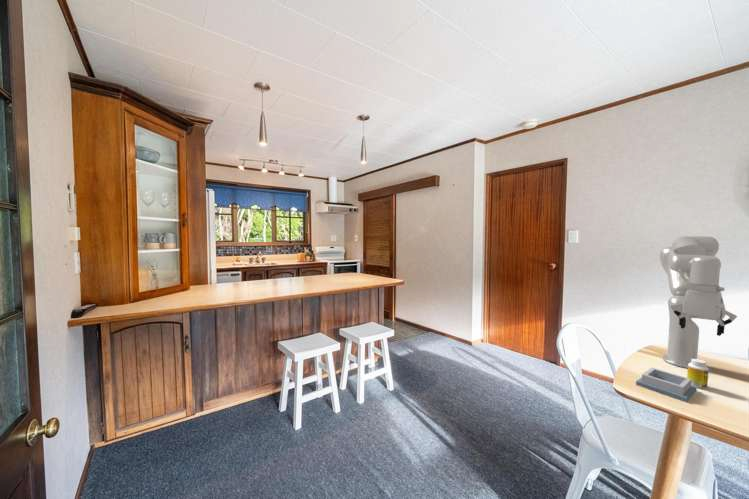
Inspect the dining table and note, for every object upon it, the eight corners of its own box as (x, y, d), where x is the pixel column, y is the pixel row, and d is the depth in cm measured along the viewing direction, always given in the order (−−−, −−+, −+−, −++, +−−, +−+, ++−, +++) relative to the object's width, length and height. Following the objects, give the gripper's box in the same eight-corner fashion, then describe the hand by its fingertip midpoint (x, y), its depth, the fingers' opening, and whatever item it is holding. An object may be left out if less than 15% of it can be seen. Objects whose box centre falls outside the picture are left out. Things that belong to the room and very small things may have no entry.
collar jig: (648, 375, 124) (648, 365, 123) (696, 391, 112) (697, 379, 112) (636, 384, 116) (636, 373, 116) (686, 402, 104) (687, 390, 104)
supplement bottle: (705, 390, 112) (707, 365, 111) (685, 384, 117) (686, 359, 116) (708, 386, 115) (710, 361, 114) (688, 380, 120) (690, 356, 119)
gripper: (740, 291, 108) (737, 336, 109) (675, 284, 123) (672, 323, 124) (736, 293, 104) (732, 340, 105) (669, 285, 119) (667, 326, 120)
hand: (700, 331), depth 114 cm, fingers open, 9 cm apart
